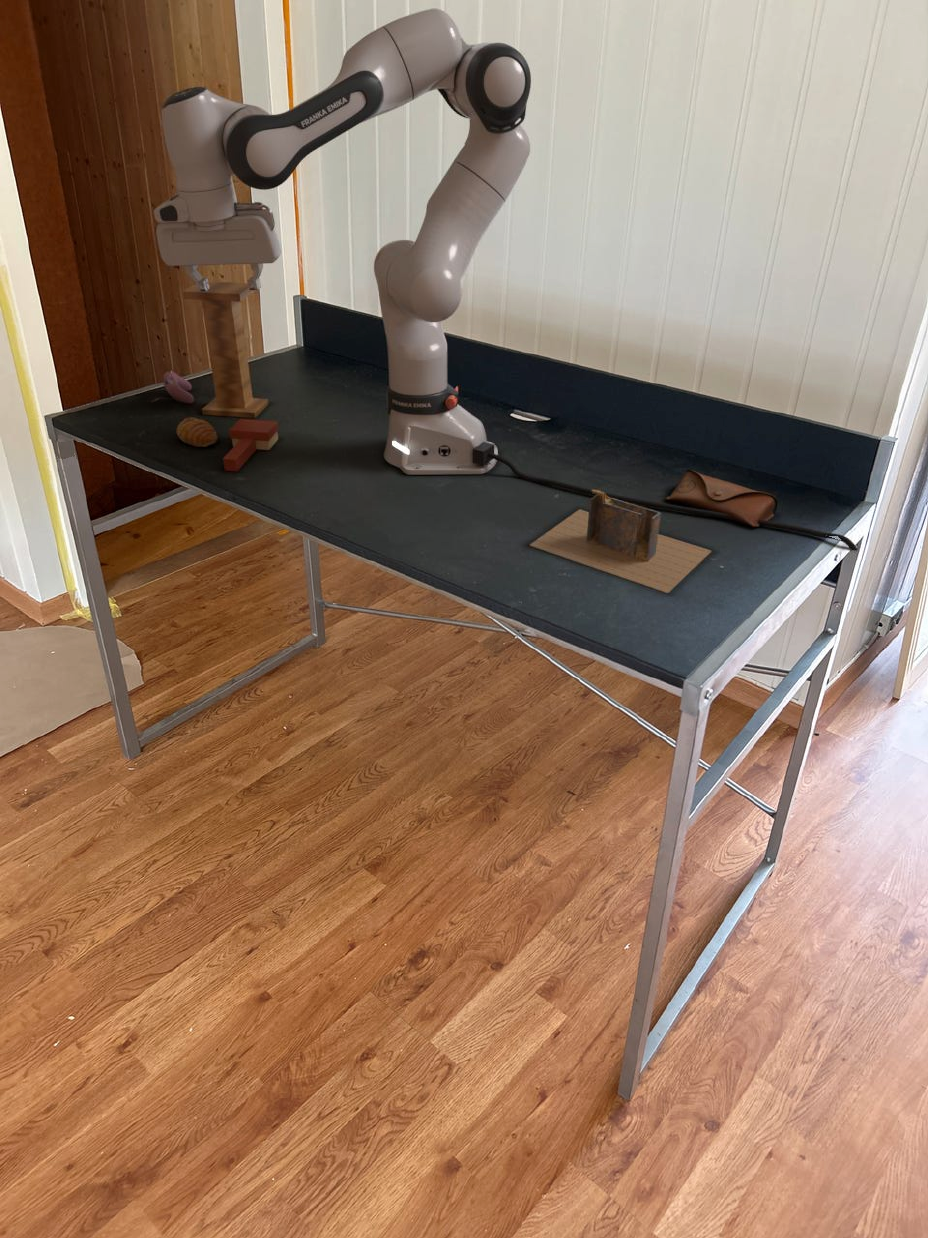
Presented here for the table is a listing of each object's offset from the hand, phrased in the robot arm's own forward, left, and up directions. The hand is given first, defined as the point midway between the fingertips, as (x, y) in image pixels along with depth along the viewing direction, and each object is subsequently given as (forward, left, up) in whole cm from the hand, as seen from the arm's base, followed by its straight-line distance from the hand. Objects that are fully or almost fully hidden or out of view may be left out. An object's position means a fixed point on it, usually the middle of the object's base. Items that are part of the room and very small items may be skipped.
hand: (229, 289), depth 157 cm
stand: (+15, -30, -33) cm, 47 cm away
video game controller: (+30, -34, -34) cm, 57 cm away
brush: (+4, -7, -33) cm, 34 cm away
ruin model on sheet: (-70, +19, -34) cm, 80 cm away
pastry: (+16, -12, -34) cm, 39 cm away
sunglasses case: (-87, +1, -34) cm, 93 cm away
